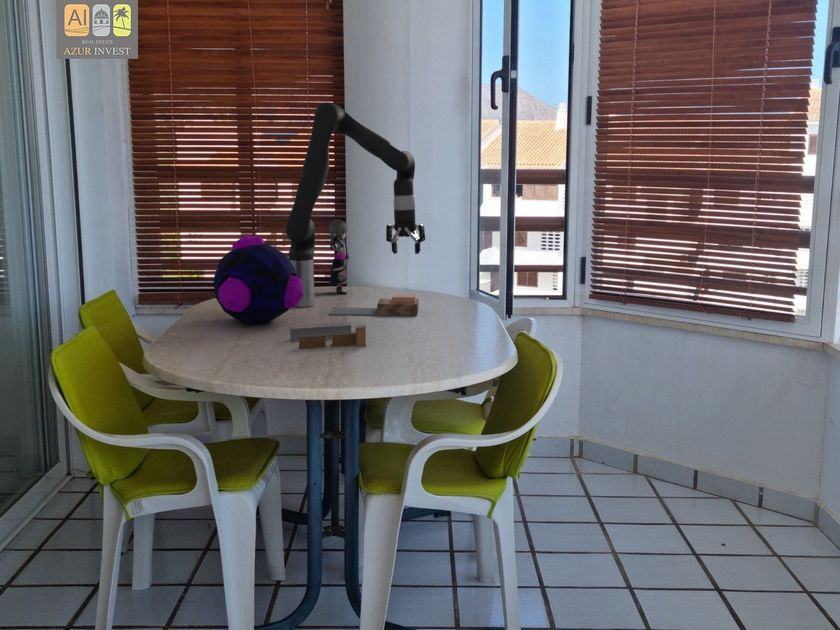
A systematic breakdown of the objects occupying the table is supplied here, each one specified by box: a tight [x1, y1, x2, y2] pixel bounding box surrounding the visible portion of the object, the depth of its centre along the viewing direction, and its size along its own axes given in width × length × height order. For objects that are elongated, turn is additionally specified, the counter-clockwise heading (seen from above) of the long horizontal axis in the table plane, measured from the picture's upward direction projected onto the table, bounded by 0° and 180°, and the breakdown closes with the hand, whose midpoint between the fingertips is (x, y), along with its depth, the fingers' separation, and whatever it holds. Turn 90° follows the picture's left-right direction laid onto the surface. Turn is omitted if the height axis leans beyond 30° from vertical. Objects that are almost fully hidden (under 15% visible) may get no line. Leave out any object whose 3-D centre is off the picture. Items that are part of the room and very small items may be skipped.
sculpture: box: [213, 234, 304, 326], centre depth 300 cm, size 30×29×30 cm
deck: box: [376, 298, 420, 316], centre depth 324 cm, size 14×12×4 cm
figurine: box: [328, 219, 350, 294], centre depth 363 cm, size 17×8×30 cm, turn 179°
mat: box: [328, 307, 377, 317], centre depth 325 cm, size 16×14×1 cm
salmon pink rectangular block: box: [391, 294, 416, 303], centre depth 323 cm, size 8×6×2 cm
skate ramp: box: [289, 321, 367, 350], centre depth 266 cm, size 29×35×8 cm
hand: (406, 253), depth 325 cm, fingers open, 8 cm apart
